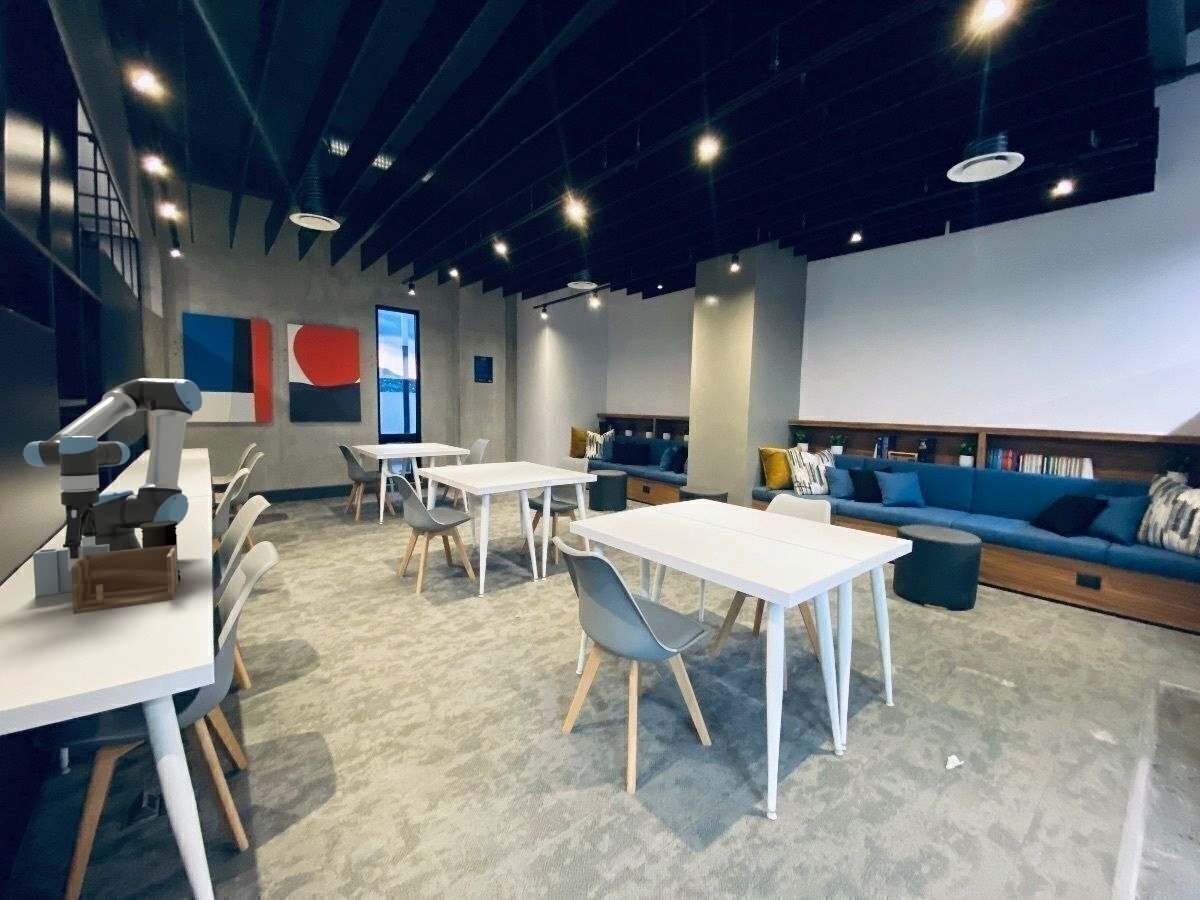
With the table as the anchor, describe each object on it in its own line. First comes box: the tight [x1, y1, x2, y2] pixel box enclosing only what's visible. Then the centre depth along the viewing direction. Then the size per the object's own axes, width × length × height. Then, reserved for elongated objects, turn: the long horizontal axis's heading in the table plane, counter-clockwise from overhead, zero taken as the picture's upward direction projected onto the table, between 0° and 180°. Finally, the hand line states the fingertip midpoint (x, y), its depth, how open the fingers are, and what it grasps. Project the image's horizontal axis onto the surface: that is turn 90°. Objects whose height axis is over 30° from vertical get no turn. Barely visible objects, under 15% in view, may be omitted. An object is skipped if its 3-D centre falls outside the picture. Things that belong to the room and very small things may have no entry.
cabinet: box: [71, 544, 179, 615], centre depth 136 cm, size 14×19×12 cm
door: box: [32, 544, 110, 598], centre depth 142 cm, size 5×14×12 cm, turn 125°
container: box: [139, 521, 182, 582], centre depth 149 cm, size 9×9×18 cm
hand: (82, 564), depth 142 cm, fingers open, 13 cm apart
